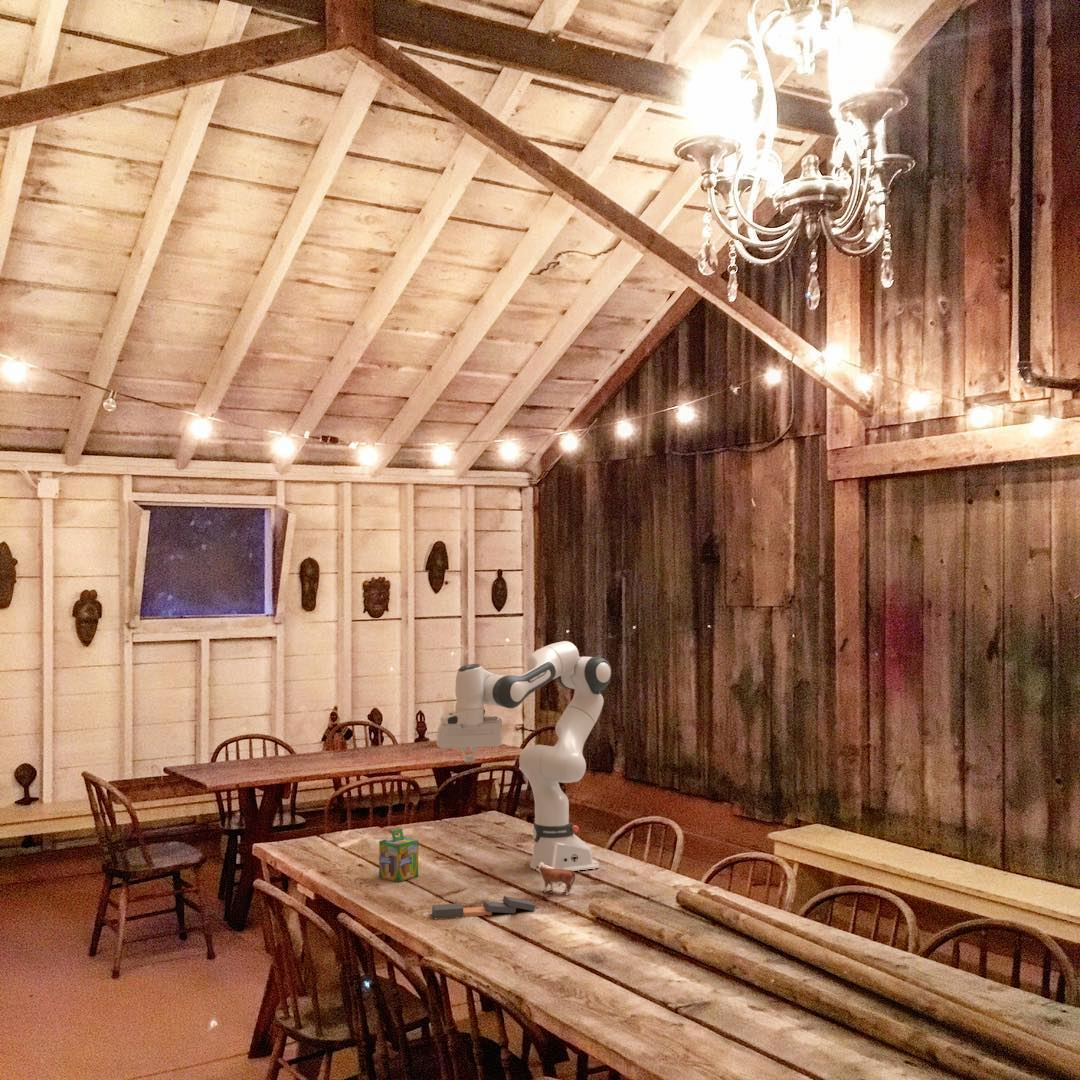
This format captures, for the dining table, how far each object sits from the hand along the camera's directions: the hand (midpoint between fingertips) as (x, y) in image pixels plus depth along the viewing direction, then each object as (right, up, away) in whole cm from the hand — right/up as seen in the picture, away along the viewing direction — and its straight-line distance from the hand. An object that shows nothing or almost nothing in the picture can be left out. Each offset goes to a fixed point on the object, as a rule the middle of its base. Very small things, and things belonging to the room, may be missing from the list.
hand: (469, 761), depth 336 cm
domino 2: (0, -36, -34) cm, 49 cm away
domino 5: (+20, -35, -28) cm, 49 cm away
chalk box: (-22, -38, +5) cm, 44 cm away
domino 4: (+14, -35, -30) cm, 48 cm away
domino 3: (+8, -36, -32) cm, 48 cm away
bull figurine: (+26, -37, -11) cm, 47 cm away
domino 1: (0, -34, -33) cm, 48 cm away
